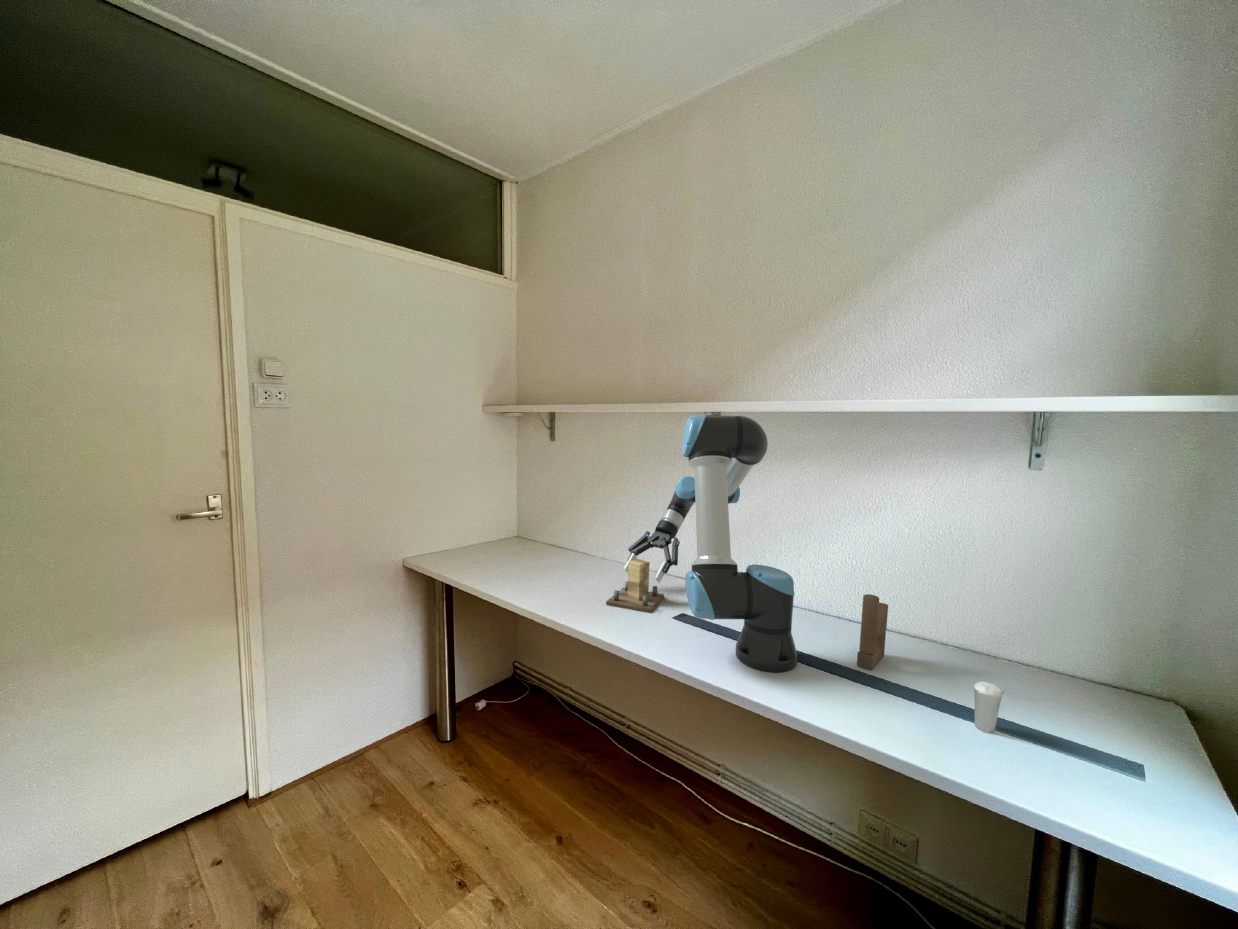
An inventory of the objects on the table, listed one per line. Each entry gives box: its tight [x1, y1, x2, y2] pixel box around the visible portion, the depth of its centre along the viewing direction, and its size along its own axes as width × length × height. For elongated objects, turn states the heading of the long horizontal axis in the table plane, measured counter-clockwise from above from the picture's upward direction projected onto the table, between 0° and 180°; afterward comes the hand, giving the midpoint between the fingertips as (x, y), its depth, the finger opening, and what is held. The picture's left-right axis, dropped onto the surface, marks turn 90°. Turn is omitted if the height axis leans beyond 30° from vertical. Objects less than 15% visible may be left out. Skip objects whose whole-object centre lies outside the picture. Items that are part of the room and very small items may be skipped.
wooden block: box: [856, 593, 889, 671], centre depth 125 cm, size 4×11×18 cm, turn 137°
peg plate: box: [605, 581, 665, 614], centre depth 163 cm, size 15×15×4 cm
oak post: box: [627, 558, 651, 601], centre depth 163 cm, size 5×5×12 cm
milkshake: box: [973, 681, 1007, 734], centre depth 98 cm, size 4×5×10 cm
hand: (641, 575), depth 165 cm, fingers open, 13 cm apart
